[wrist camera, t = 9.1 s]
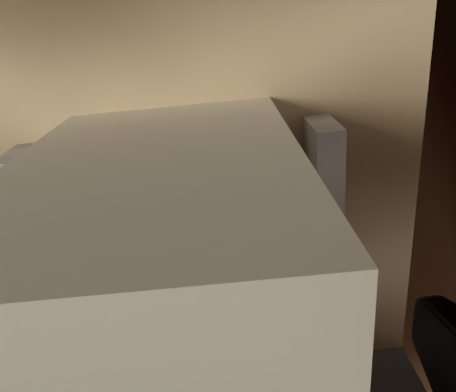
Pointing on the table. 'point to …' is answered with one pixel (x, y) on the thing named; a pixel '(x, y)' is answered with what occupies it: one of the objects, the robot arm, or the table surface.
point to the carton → (179, 259)
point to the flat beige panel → (247, 89)
